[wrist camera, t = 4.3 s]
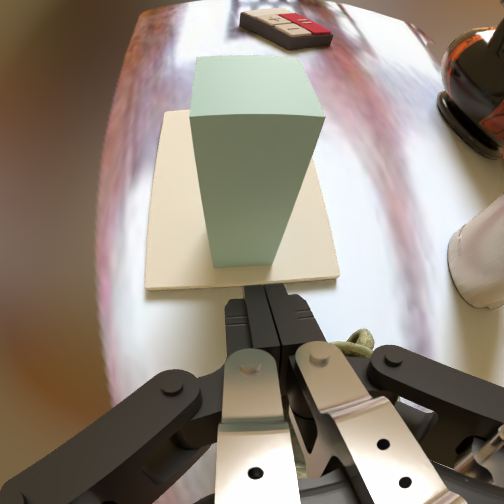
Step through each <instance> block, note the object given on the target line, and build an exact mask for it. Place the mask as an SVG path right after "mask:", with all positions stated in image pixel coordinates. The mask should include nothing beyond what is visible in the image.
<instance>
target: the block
mask: <svg viewBox="0 0 504 504" xmlns="http://www.w3.org/2000/svg"><path fill="white" fill-rule="evenodd" d="M189 119H190V127H191V134H192V141H193V149H194V155H195V162H196V169H197V175H198V182H199V188H200V194H201V200H202V206H203V212H204V218H205V224H206V230H207V235H208V241H209V246H210V252H211V257H212V262H213V267H214V268H226V267H243V266H259V265H272V264H273V261H274V259H275V256H276V254H277V251H278V248H279V246H280V243H281V240H282V238H283V235H284V232H285V230H286V227H287V224H288V221H289V219H290V216H291V213H292V211H293V208H294V205H295V202H296V200H297V197H298V194H299V191H300V189H301V186H302V183H303V180H304V177H305V175H306V172H307V169H308V166H309V163H310V161H311V158H312V155H313V152H314V149H315V146H316V143H317V140H318V138H319V135H320V132H321V129H322V126H323V123H324V120H325V114H324V112H323V110H322V107H321V105H320V103H319V101H318V98H317V96H316V94H315V92H314V89H313V87H312V85H311V83H310V81H309V79H308V77H307V75H306V72H305V70H304V68H303V66H302V64H301V62H300V60H299V58H290V57H276V56H209V57H197V60H196V66H195V73H194V80H193V88H192V96H191V105H190V114H189Z"/></svg>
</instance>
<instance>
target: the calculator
mask: <svg viewBox="0 0 504 504" xmlns="http://www.w3.org/2000/svg"><path fill="white" fill-rule="evenodd" d="M239 26H240V27H242V28H245V29H247V30H249V31H253V32H255V33H257V34H259V35H261V36H262V37H264V38H266V39H268V40H270V41H272V42H274V43H276V44H277V45H279V46H281V47H283V48H285V49H287V50H297V49H303V48H310V47H318V46H327V45H330V44H331V41H332V38H333V34H331V31H329V30H327V29H326V28H324V27H322V26H320V25H318V24H316V23H315V22H313V21H311V20H309V19H307V18H305V17H303V16H301V15H299V14H296V13H293V12H291V11H288V10H286V9H284V8H272V9H261V10H252V11H244V12H242V13H241V14H240V25H239Z"/></svg>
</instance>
